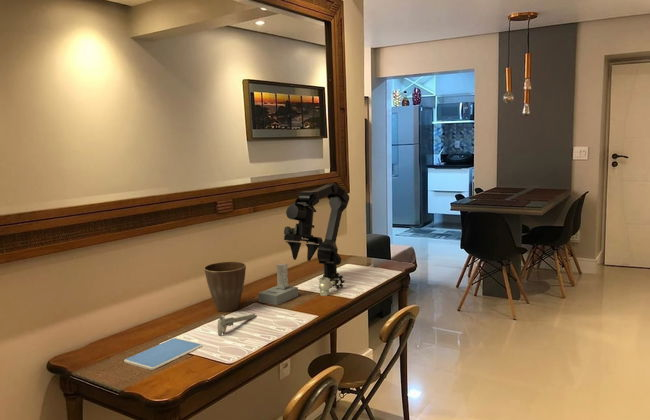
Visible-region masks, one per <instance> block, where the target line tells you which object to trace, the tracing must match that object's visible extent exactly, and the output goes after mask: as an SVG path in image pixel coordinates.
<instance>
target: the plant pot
mask: <svg viewBox="0 0 650 420" xmlns="http://www.w3.org/2000/svg"><path fill="white" fill-rule="evenodd" d="M246 268H247V265H246V263H244V262H241V261H222V262H214V263H210V264H208V265H206V266H204V268H203V269H204V274H205V279H206V283H207V287H208V289H209V293H210V296H211V298H212V300H213V303H214V306H215V307H216V309H217V311H219V312H221V313H222V312H223V313H226V312H227V311H228V312H234V311H236V310H237V309H239V308H238V307H239V305H240V302H241V299H242V294H243V289H244V284H245V280H246V279H245V278H246V270H247V269H246ZM225 311H226V312H225ZM228 312H227V313H228Z"/></svg>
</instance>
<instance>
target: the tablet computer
mask: <svg viewBox="0 0 650 420" xmlns="http://www.w3.org/2000/svg"><path fill="white" fill-rule="evenodd" d="M201 346H202V347H203V344H201V343H197V342H194V341H189V340H184V339H181V338H177V337H173V338H170V339H168V340H167V341H164V342H162V343H160V344H157V345H155V346H152V347H151V348H148V349H146V350H143V351H141V352H138V353H136V354H134V355H132V356H130V357H127V358H125V359H124V361H123V362H124V363H125V364H128V365H130V366H131V365H132V366H136V367H139V368H142V369H145V370H150V371H154V370H157V369H159V368H160V367H162V366H165V365H166V364H168V363H169V364H170V363H171V362H173V361H175V360H177V359H180V358H181V357H183V356H185V355H189V354H190V353H192V352H194V351H196V350H198V349H197V348H199V347H201ZM202 347H201V348H202ZM199 349H200V348H199Z"/></svg>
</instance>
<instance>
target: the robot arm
mask: <svg viewBox="0 0 650 420" xmlns="http://www.w3.org/2000/svg"><path fill="white" fill-rule="evenodd" d="M323 198H327V199H328V200H329V202H328V203H329V204H328V205H329V206H330V207H329V208H330V215H329V219H328V224H327V227H326V232H325V236H324V239H322V237H319V236H314V235H313V234H312V232H313V230H312V229H315V225H314V224H313V223H314V222H313V221H314V213H317V209H316V208H315V207H314V206H317V204H319V203H320V200H322V199H323ZM349 201H350V195H349V193H348V192H347V191H346V190H345V189H343V188H342V187H340V186H339V185H338V184H337V183H326V184H325V185H322V186H320V187H318V188H316V189H315V188H314V189H313V190H301V191H300V192H299V194H298V196H297V198H296V199H295V200H294V201H293V202H290V205H289V206H288V207H287V209H286V211H285V215H286V216H287V218H288V219H289V220H293V221H298V223H295V227H291V226H285V227H284V229H283V235H284V236H283V241H285V243H286V244H288V245H289V247H290V250H291V254H292V255H291V256H292V259H293V260H295V261H296V260H297V259H298V258H297V257H298V254H299V252H300V248H301V246H302V242H306V243H305V247H306V248H307V251H306V252H307V256H306V259H307V261H308V262H310V261H311V260H312V259H313V257H314V255H315V253H316V252H317V253H316V257H317V260H318V263H319V264H323V274H322V278H323V277H326V278H329V280H330V279H332V278H333V277H332V276H331V275H333V274H334V275H335V274H336V273H338V269H337V265H338V266H339V265H340V264H341V263H342V257H341V256H340V255H339V253H338V246H337V243H336V242H337V238H338V232H339V228H340V223H341V219H342V214H343V212H344V211H345V210H346V208H347V207H348V205H349ZM335 276H336V275H335ZM335 279H339V278H338V277H335Z"/></svg>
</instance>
